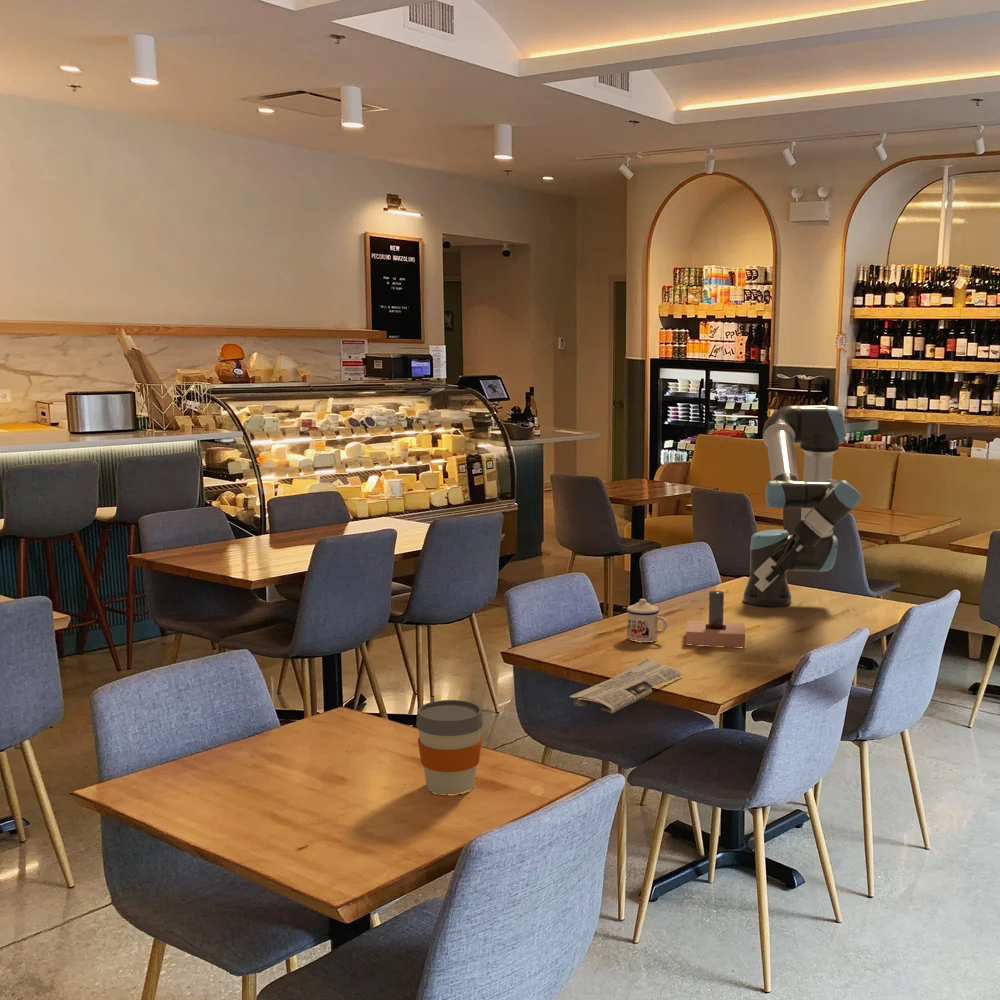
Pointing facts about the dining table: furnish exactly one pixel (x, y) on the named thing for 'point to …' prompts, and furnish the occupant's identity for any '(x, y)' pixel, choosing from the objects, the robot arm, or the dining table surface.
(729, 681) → the dining table surface
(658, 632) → the teacup with lid
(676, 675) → the newspaper
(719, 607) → the pin
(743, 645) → the pink block with hole
